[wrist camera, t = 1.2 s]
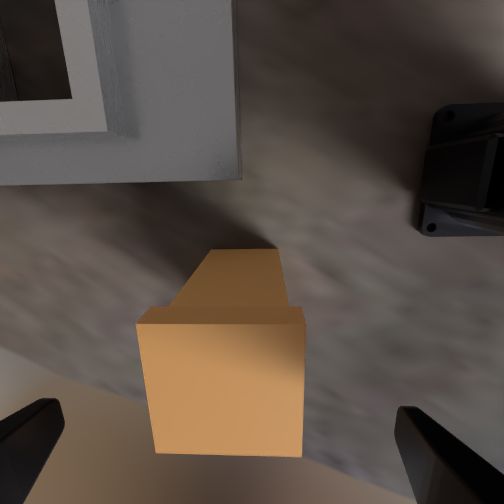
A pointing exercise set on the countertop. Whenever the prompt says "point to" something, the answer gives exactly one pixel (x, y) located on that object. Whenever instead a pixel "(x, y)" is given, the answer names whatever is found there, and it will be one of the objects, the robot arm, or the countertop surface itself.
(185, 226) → the countertop surface
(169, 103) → the grey socket base
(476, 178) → the robot arm
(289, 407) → the wedge pin
